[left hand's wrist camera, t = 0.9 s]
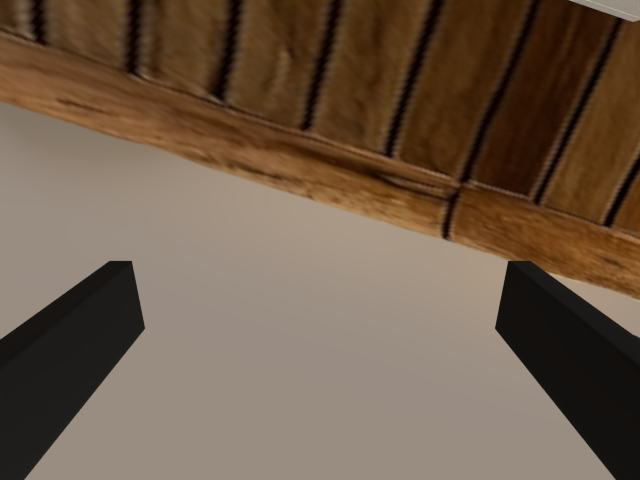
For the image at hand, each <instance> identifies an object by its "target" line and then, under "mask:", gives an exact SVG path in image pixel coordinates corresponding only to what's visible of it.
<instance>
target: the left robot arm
mask: <svg viewBox="0 0 640 480" xmlns="http://www.w3.org/2000/svg"><path fill="white" fill-rule="evenodd" d="M144 329H145V326H144V321H143V316H142V311H141V306H140V301H139V296H138V290H137V286H136V280H135V276H134V270H133V265H132V261H109V262H108V263H106V264H105V265H103V266H102V267H101V268H99V269H98V270H96V271H95V272H94V273H92V274H91V275H90V276H88V277H87V278H85V279H84V280H83V281H81V282H80V283H78V284H77V285H76V286H74V287H73V288H72V289H70V290H69V291H67V292H66V293H65V294H63V295H62V296H60V297H59V298H58V299H56V300H55V301H53V302H52V303H51V304H49V305H48V306H47V307H45V308H44V309H42V310H41V311H40V312H38V313H37V314H35V315H34V316H33V317H31V318H30V319H28V320H27V321H26V322H24V323H23V324H21V325H20V326H19V327H17V328H16V329H15V330H13V331H12V332H10V333H9V334H8V335H6V336H5V337H3V338H2V339H0V480H24V479H25V478H26V477H27V475H28V474H29V473H30V472H31V470H32V469H33V468H34V467H35V465H36V464H37V463H38V462H39V460H40V459H41V458H42V457H43V455H44V454H45V453H46V452H47V450H48V449H49V448H50V447H51V445H52V444H53V443H54V442H55V440H56V439H57V438H58V437H59V435H60V434H61V433H62V432H63V430H64V429H65V428H66V427H67V425H68V424H69V423H70V422H71V420H72V419H73V418H74V417H75V415H76V414H77V413H78V412H79V410H80V409H81V408H82V407H83V405H84V404H85V403H86V402H87V400H88V399H89V398H90V397H91V395H92V394H93V393H94V392H95V390H96V389H97V388H98V387H99V385H100V384H101V383H102V382H103V380H104V379H105V378H106V377H107V375H108V374H109V373H110V372H111V370H112V369H113V368H114V367H115V365H116V364H117V363H118V362H119V360H120V359H121V358H122V357H123V355H124V354H125V353H126V352H127V350H128V349H129V348H130V347H131V345H132V344H133V343H134V342H135V340H136V339H137V338H138V337H139V335H140V334H141V333H142V332H143V330H144ZM495 329H496V330H497V332H498V333H499V334H500V335H501V337H502V338H503V339H504V340H505V342H506V343H507V344H508V345H509V347H510V348H511V349H512V350H513V352H514V353H515V354H516V355H517V357H518V358H519V359H520V360H521V362H522V363H523V364H524V365H525V367H526V368H527V369H528V370H529V372H530V373H531V374H532V375H533V377H534V378H535V379H536V380H537V382H538V383H539V384H540V385H541V387H542V388H543V389H544V390H545V392H546V393H547V394H548V395H549V397H550V398H551V399H552V400H553V402H554V403H555V404H556V405H557V407H558V408H559V409H560V410H561V412H562V413H563V414H564V415H565V417H566V418H567V419H568V420H569V422H570V423H571V424H572V425H573V427H574V428H575V429H576V430H577V432H578V433H579V434H580V435H581V437H582V438H583V439H584V440H585V442H586V443H587V444H588V445H589V447H590V448H591V449H592V450H593V452H594V453H595V454H596V455H597V457H598V458H599V459H600V460H601V462H602V463H603V464H604V465H605V467H606V468H607V469H608V470H609V472H610V473H611V474H612V475H613V477H614V478H615V479H616V480H640V338H639V337H637V336H635V335H632V334H631V333H630V332H628V331H627V330H625V329H624V328H623V327H621V326H620V325H619V324H617V323H616V322H614V321H613V320H612V319H610V318H609V317H607V316H606V315H605V314H603V313H602V312H601V311H599V310H598V309H596V308H595V307H594V306H592V305H591V304H589V303H588V302H587V301H585V300H584V299H582V298H581V297H580V296H578V295H577V294H575V293H574V292H573V291H571V290H570V289H568V288H567V287H566V286H564V285H563V284H562V283H560V282H559V281H557V280H556V279H555V278H553V277H552V276H550V275H549V274H548V273H546V272H545V271H544V270H542V269H541V268H539V267H538V266H537V265H535V264H534V263H532V262H531V261H508V265H507V270H506V275H505V280H504V285H503V290H502V296H501V301H500V306H499V311H498V316H497V321H496V326H495Z"/></svg>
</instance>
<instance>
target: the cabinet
mask: <svg viewBox="0 0 640 480" xmlns="http://www.w3.org/2000/svg"><path fill="white" fill-rule="evenodd" d="M570 1H573V2H576V3H579V4H582V5H585V6H588V7H591V8H593V9H596V10H599V11H602V12H605V13H608V14H611V15H614V16H617V17H620V18H623V19H626V20H629V21H632V22H634V21H638V20H640V0H570Z"/></svg>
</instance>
